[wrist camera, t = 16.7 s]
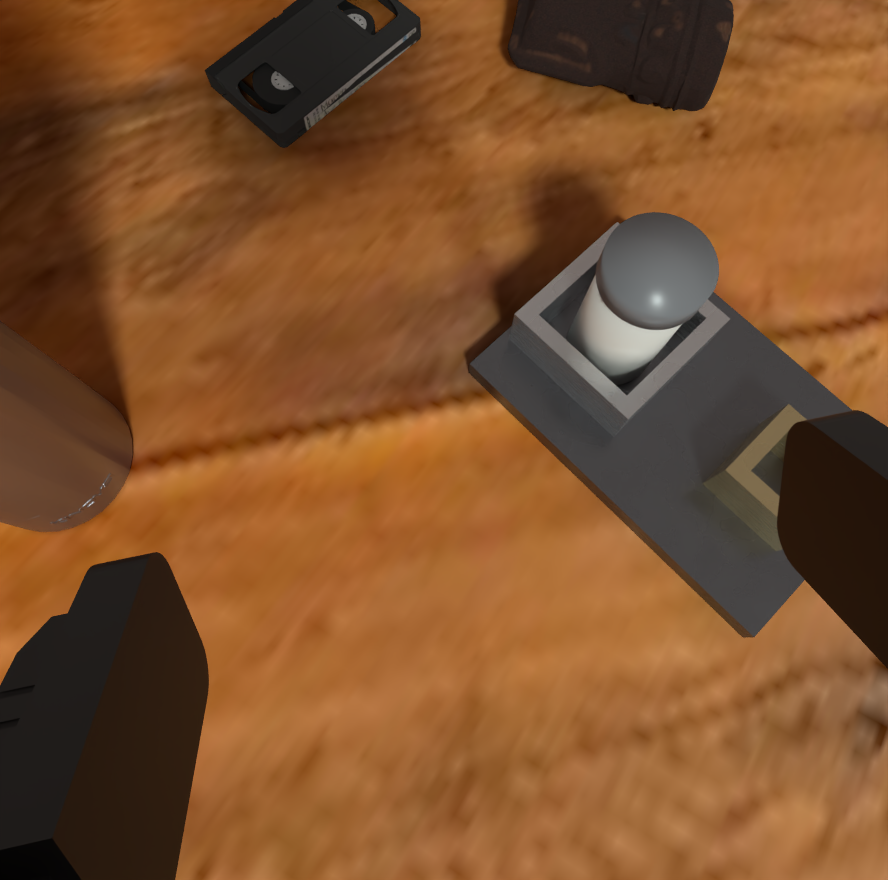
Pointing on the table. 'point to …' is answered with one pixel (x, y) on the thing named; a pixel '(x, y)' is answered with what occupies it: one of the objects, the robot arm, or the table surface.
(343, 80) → the vhs tape
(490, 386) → the plate
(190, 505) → the table surface
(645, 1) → the pipe
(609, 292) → the grey and white cylinder
